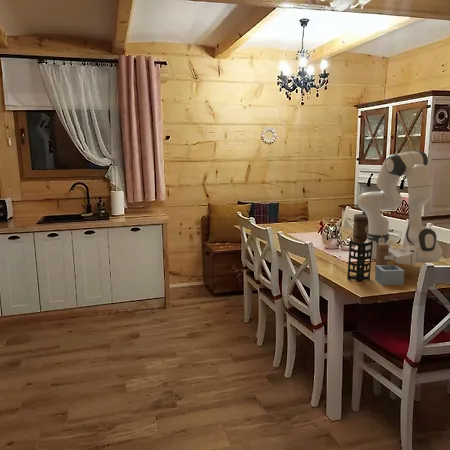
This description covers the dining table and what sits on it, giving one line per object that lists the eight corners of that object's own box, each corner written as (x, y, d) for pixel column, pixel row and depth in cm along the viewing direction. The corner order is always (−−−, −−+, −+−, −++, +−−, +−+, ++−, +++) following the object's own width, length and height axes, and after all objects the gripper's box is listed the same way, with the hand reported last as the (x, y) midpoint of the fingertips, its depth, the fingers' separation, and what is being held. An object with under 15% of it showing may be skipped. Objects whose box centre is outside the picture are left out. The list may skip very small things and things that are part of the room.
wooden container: (370, 244, 284) (372, 211, 280) (349, 241, 293) (350, 210, 289) (377, 240, 296) (379, 209, 292) (357, 237, 305) (358, 207, 301)
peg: (375, 273, 218) (376, 242, 215) (384, 272, 218) (385, 242, 215) (378, 275, 214) (379, 244, 211) (387, 275, 214) (388, 244, 211)
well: (374, 279, 208) (375, 265, 207) (395, 278, 208) (395, 264, 207) (382, 285, 198) (382, 271, 197) (403, 284, 198) (404, 270, 197)
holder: (367, 276, 212) (369, 238, 207) (373, 282, 205) (375, 243, 199) (345, 277, 212) (347, 239, 206) (350, 283, 205) (352, 244, 199)
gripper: (400, 244, 224) (374, 244, 224) (417, 253, 203) (388, 254, 204) (399, 255, 225) (373, 256, 225) (416, 266, 205) (387, 266, 205)
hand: (380, 255), depth 214 cm, fingers open, 8 cm apart
